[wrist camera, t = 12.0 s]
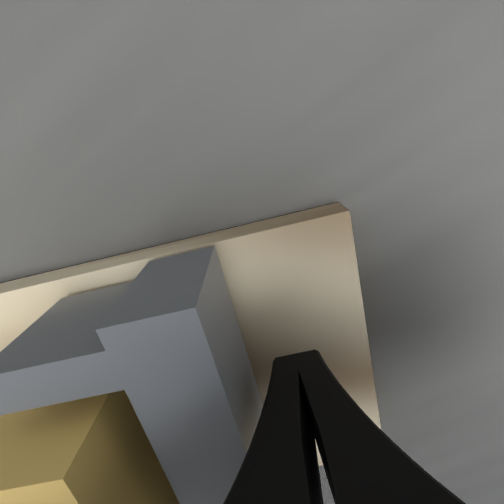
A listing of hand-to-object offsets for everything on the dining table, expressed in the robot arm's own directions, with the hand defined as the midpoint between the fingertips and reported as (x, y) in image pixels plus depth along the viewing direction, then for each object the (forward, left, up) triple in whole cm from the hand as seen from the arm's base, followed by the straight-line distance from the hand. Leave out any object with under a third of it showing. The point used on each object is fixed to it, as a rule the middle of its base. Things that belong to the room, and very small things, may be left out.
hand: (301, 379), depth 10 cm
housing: (0, +4, -1) cm, 4 cm away
